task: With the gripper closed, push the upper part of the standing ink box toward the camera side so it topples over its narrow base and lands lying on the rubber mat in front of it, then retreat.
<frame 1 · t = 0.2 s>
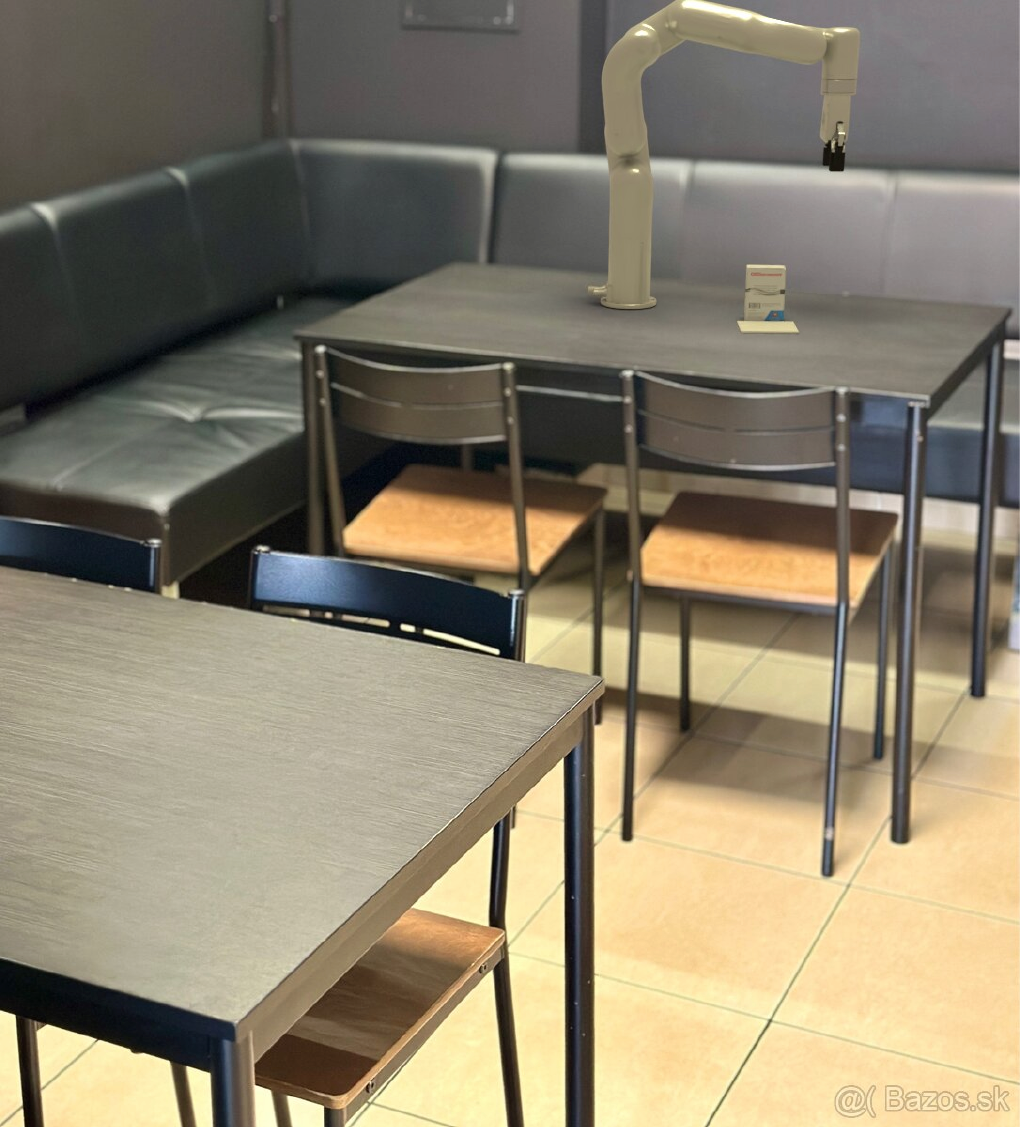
hand: (832, 168, 349), 31 cm above the table, fingers open, 9 cm apart
ink box: (763, 320, 347), on the table
mat: (767, 328, 339), on the table
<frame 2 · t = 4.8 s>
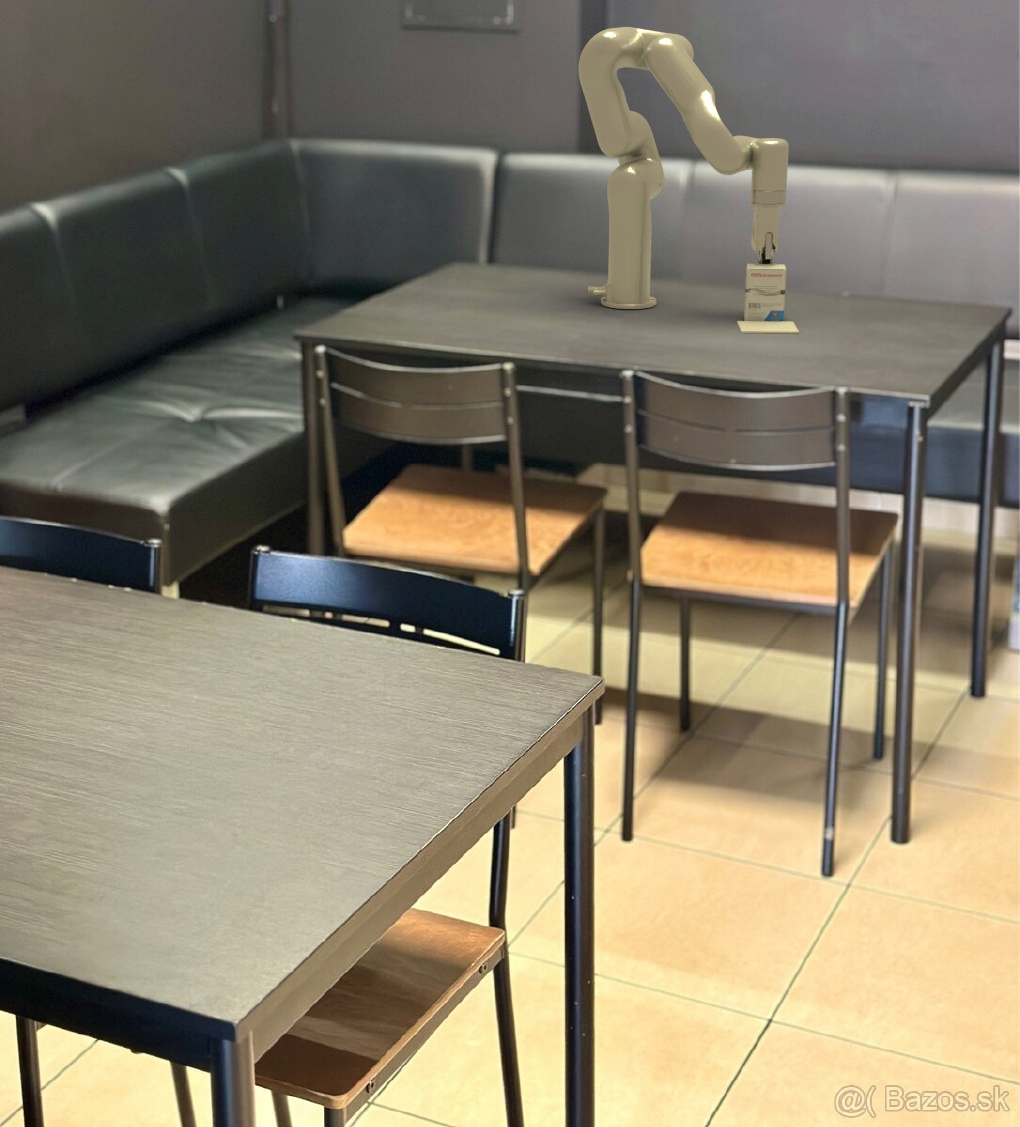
hand: (764, 282, 348), 7 cm above the table, fingers closed
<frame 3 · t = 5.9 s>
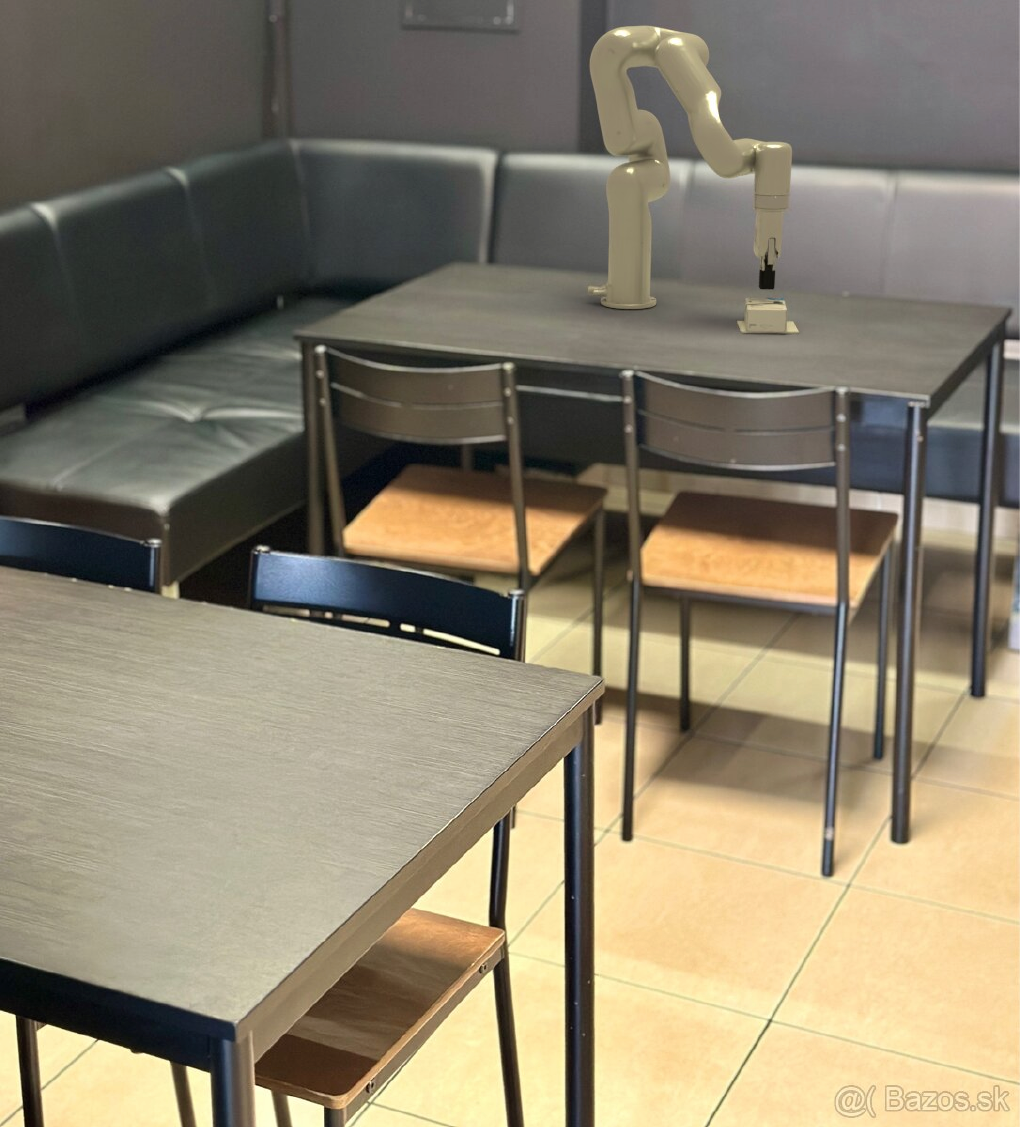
hand: (766, 288, 343), 7 cm above the table, fingers closed
ink box: (764, 308, 344), point 3 cm above the table, touching mat
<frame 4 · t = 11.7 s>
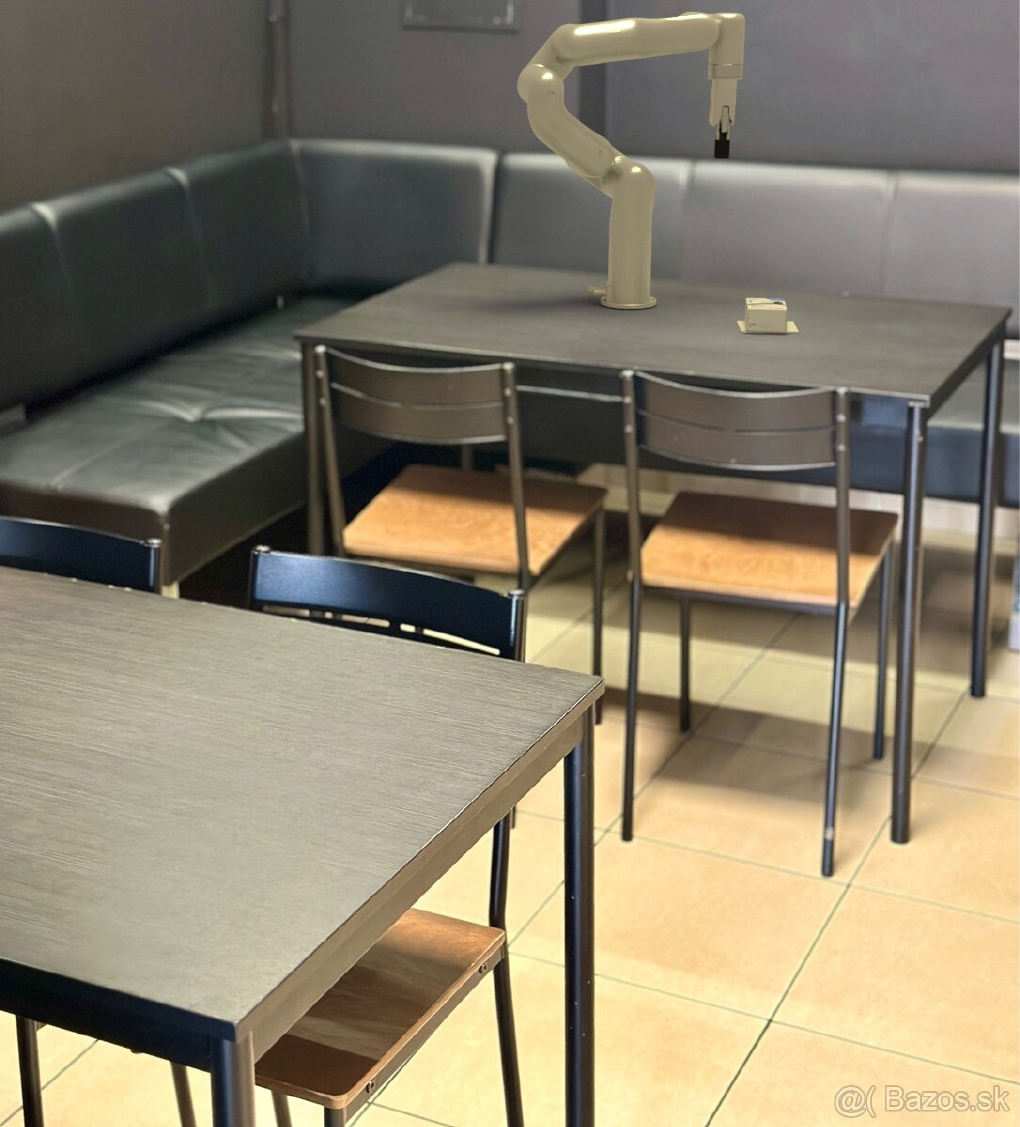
hand: (721, 158, 354), 32 cm above the table, fingers closed
nothing on the table moved.
at the end: ink box tilted 90°; ink box inside the target area (7.1 cm from its centre), point 2.9 cm above the table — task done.
